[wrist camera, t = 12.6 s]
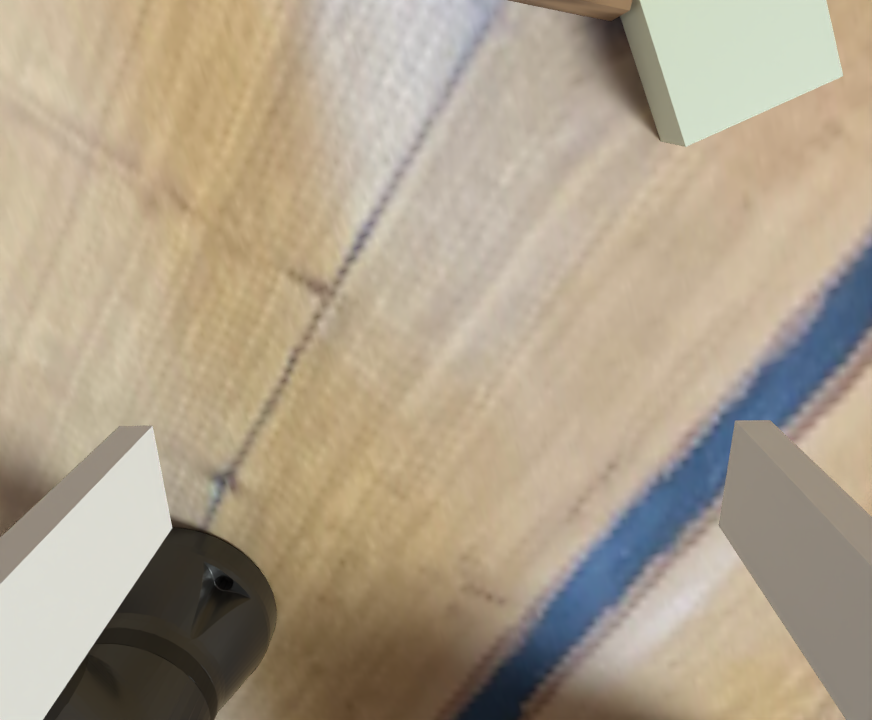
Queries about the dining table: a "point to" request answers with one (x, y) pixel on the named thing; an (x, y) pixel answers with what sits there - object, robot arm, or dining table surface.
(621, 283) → the dining table surface
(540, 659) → the dining table surface
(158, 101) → the dining table surface
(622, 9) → the walnut block
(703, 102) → the sage block
